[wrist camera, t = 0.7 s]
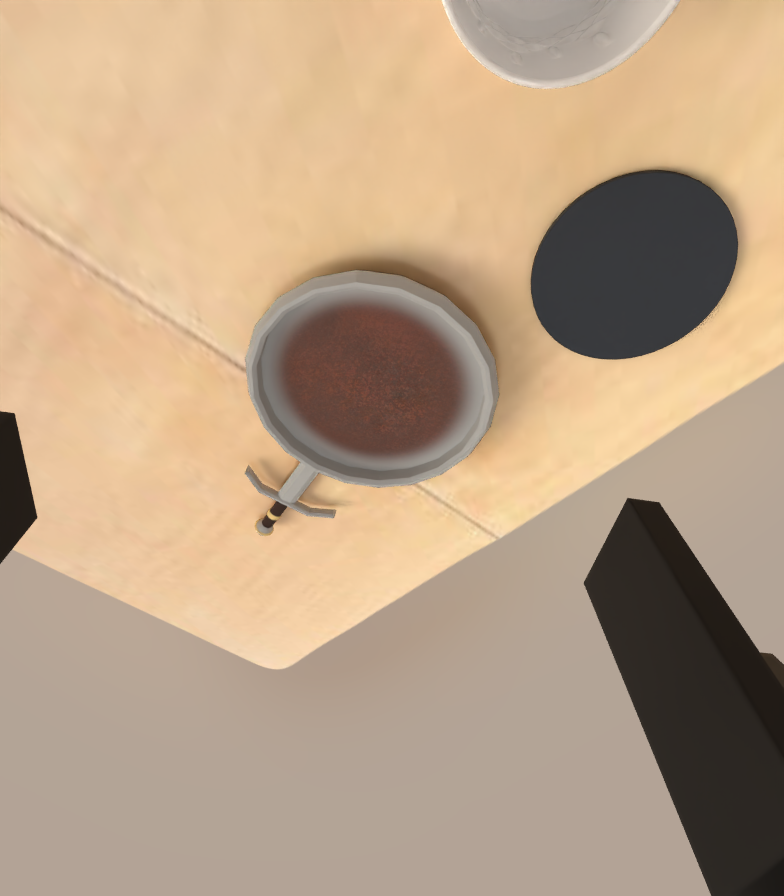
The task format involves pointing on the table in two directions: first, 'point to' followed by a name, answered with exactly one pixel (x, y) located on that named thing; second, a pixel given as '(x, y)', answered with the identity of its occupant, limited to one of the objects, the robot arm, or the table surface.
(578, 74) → the white cup
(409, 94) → the table surface
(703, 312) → the coaster
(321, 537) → the table surface
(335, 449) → the frying pan
